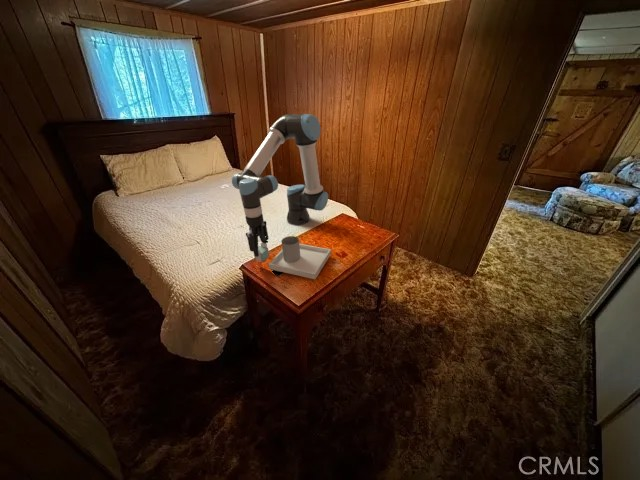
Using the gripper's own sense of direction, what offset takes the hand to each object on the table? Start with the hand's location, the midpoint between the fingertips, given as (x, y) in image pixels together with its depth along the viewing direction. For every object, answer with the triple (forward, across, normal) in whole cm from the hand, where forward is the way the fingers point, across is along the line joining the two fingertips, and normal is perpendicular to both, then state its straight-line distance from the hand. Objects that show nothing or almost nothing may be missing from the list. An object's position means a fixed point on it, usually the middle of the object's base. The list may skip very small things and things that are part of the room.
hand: (262, 257), depth 124 cm
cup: (+2, -6, +13) cm, 14 cm away
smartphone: (+5, +1, +6) cm, 8 cm away
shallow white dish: (+4, -6, +18) cm, 19 cm away
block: (0, 0, 0) cm, 0 cm away
